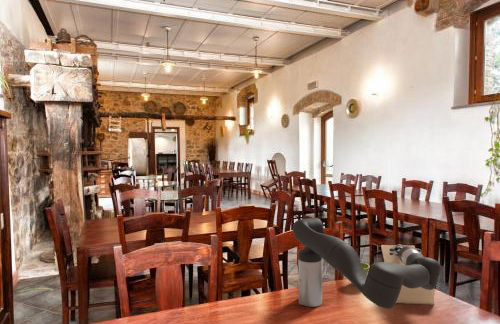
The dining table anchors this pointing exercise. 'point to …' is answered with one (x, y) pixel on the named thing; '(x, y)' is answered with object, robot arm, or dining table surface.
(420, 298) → the carton
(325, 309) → the dining table surface
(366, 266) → the plant pot
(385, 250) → the back flap
